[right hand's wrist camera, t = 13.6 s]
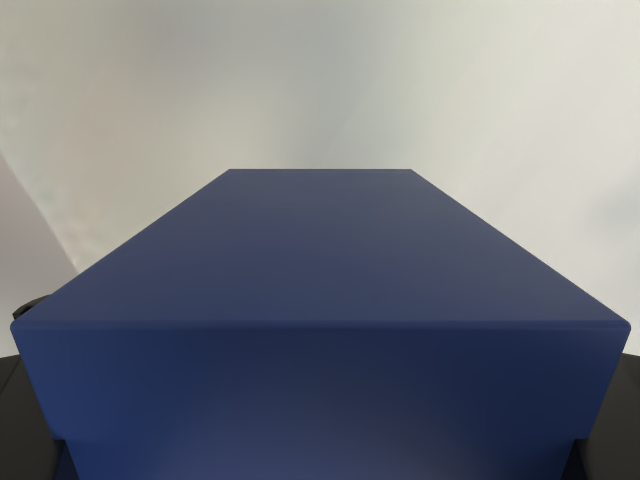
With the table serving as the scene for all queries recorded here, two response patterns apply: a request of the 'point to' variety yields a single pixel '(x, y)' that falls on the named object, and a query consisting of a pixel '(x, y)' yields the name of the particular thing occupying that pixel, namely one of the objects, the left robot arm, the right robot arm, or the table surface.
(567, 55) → the table surface
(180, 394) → the box
